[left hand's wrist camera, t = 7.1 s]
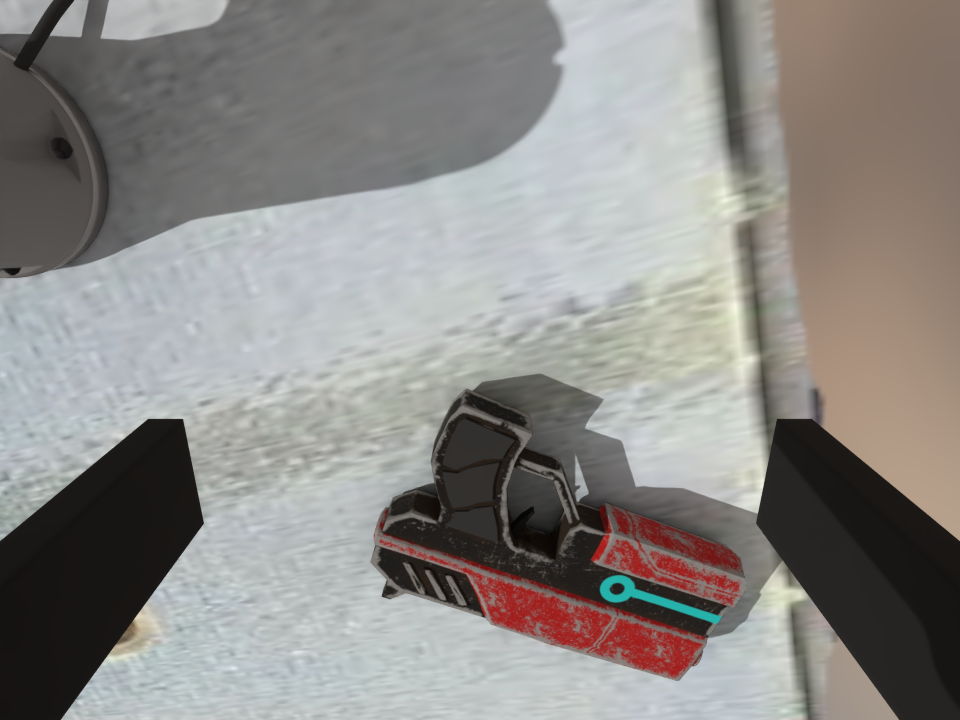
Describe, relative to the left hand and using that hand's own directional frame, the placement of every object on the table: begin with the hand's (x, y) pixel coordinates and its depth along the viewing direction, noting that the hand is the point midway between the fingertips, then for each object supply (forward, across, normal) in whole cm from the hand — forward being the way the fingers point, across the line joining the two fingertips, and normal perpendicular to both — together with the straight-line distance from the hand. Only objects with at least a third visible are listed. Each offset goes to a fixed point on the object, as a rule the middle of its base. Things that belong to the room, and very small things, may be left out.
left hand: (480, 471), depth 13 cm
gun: (+31, +7, -25) cm, 41 cm away
